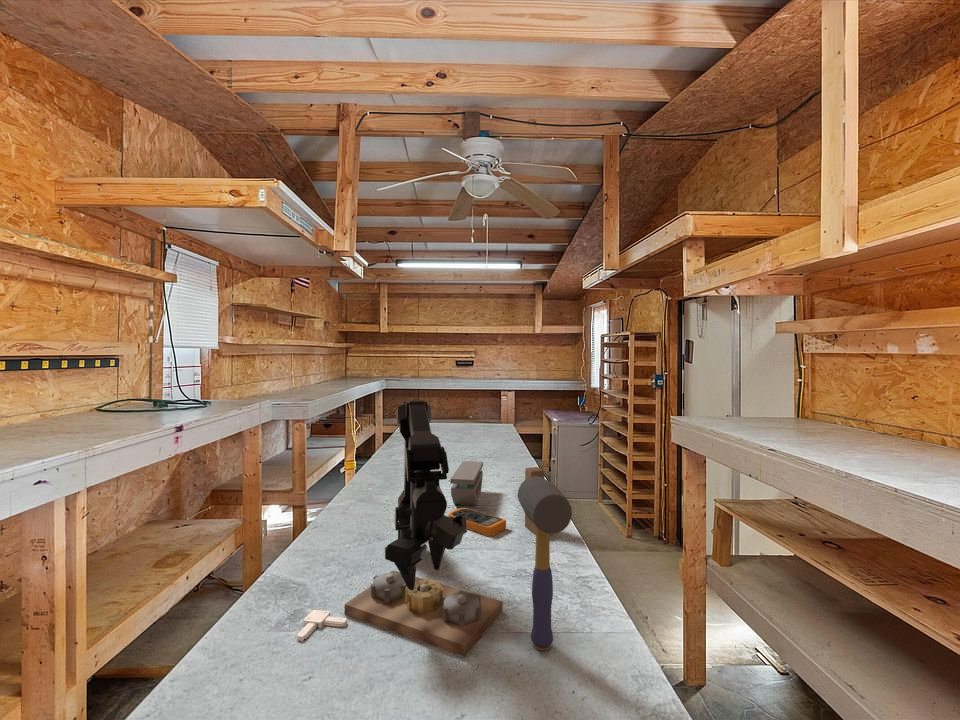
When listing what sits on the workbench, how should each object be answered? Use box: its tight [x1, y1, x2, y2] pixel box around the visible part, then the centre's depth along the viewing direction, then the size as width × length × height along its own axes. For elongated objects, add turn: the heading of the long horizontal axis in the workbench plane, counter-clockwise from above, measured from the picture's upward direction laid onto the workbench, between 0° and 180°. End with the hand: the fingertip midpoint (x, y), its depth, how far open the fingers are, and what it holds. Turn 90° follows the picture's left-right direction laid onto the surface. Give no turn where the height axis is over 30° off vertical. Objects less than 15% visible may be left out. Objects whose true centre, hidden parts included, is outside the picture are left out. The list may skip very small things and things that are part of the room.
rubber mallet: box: [517, 476, 573, 651], centre depth 82 cm, size 12×8×30 cm, turn 9°
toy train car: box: [449, 460, 484, 506], centre depth 164 cm, size 25×8×11 cm, turn 172°
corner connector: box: [296, 609, 348, 642], centre depth 88 cm, size 8×8×2 cm
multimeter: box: [447, 507, 507, 537], centre depth 140 cm, size 9×18×3 cm, turn 50°
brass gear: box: [405, 578, 443, 614], centre depth 93 cm, size 8×8×3 cm
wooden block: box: [524, 466, 552, 536], centre depth 136 cm, size 9×4×18 cm, turn 19°
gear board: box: [344, 570, 504, 658], centre depth 93 cm, size 28×16×6 cm, turn 63°
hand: (424, 579), depth 93 cm, fingers open, 9 cm apart
